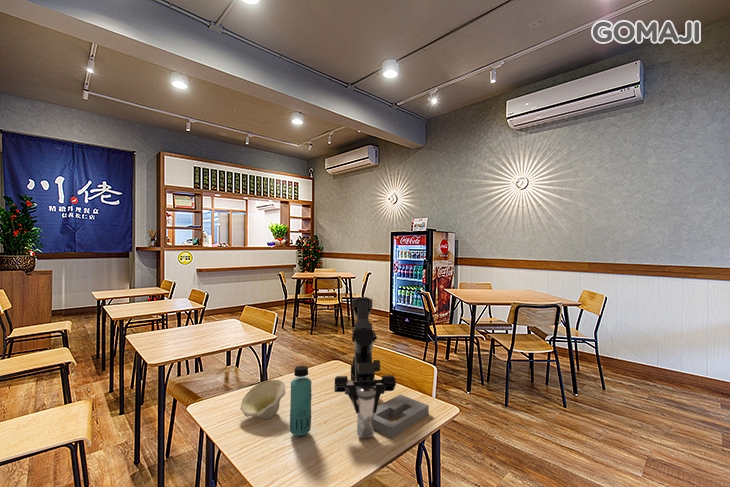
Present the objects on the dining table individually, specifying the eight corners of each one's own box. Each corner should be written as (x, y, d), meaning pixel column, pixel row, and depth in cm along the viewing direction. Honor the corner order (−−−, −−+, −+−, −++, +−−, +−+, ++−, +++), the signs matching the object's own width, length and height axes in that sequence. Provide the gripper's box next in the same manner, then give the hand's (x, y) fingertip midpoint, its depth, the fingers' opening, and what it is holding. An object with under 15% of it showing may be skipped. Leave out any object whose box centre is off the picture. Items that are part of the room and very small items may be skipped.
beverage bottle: (292, 443, 94) (293, 372, 95) (286, 431, 100) (287, 365, 100) (314, 437, 97) (315, 369, 98) (307, 426, 103) (308, 362, 103)
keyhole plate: (391, 438, 97) (391, 428, 98) (362, 423, 106) (362, 413, 106) (428, 414, 112) (428, 405, 112) (400, 402, 120) (400, 394, 120)
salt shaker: (353, 437, 96) (353, 392, 96) (357, 426, 101) (358, 383, 102) (373, 440, 94) (374, 394, 95) (377, 429, 100) (377, 385, 100)
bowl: (231, 416, 109) (232, 385, 109) (269, 402, 119) (270, 374, 119) (255, 434, 99) (255, 400, 99) (294, 417, 109) (294, 386, 109)
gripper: (335, 350, 101) (334, 403, 90) (395, 349, 103) (401, 401, 92) (334, 366, 109) (334, 417, 98) (390, 365, 111) (396, 415, 100)
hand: (366, 412), depth 97 cm, fingers closed on salt shaker, 5 cm apart
